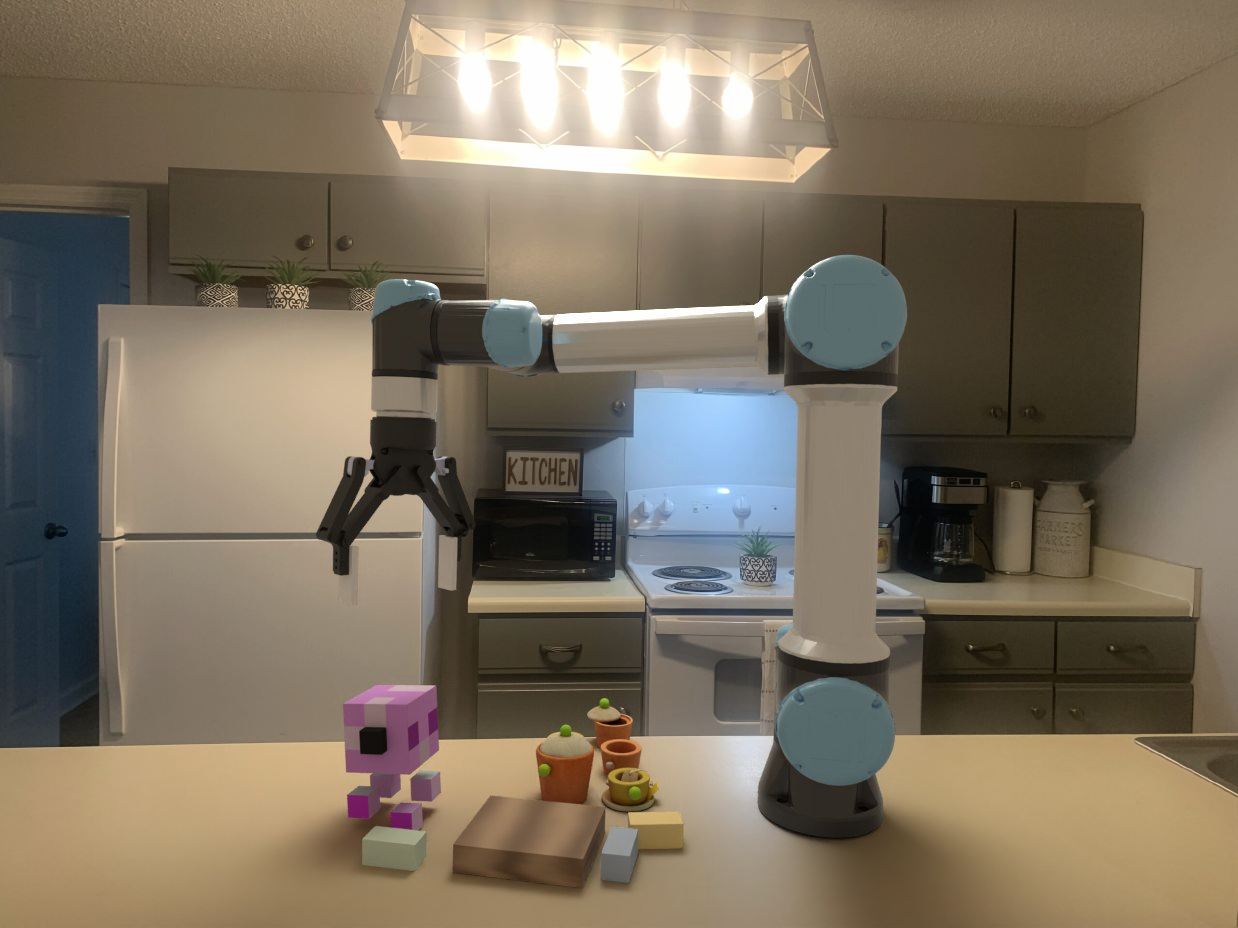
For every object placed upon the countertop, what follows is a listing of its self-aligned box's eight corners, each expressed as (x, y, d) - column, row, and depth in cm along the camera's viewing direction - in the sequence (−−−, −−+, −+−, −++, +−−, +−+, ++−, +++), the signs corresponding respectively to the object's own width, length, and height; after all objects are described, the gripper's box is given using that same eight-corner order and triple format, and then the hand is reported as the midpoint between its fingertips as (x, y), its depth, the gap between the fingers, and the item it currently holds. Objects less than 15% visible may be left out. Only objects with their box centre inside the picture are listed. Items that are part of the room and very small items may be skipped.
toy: (407, 841, 92) (401, 707, 92) (342, 838, 94) (336, 706, 94) (446, 802, 102) (440, 682, 102) (387, 799, 104) (382, 681, 104)
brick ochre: (678, 836, 95) (679, 811, 95) (682, 849, 92) (683, 823, 92) (627, 837, 95) (628, 812, 95) (629, 850, 92) (630, 824, 92)
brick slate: (611, 852, 91) (611, 826, 91) (637, 855, 91) (638, 828, 91) (600, 881, 86) (601, 852, 85) (629, 884, 85) (629, 855, 85)
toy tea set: (662, 818, 100) (664, 740, 100) (534, 822, 99) (535, 742, 98) (637, 739, 126) (638, 677, 126) (536, 740, 124) (537, 678, 124)
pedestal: (605, 832, 96) (605, 806, 96) (582, 887, 84) (583, 858, 84) (490, 819, 98) (490, 795, 98) (452, 872, 86) (452, 844, 86)
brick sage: (426, 858, 89) (426, 831, 89) (414, 872, 87) (415, 844, 86) (375, 852, 90) (375, 825, 90) (361, 866, 88) (362, 838, 87)
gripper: (468, 418, 108) (464, 579, 109) (285, 411, 89) (282, 604, 90) (506, 419, 103) (501, 587, 104) (321, 411, 84) (317, 616, 85)
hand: (400, 596), depth 97 cm, fingers open, 13 cm apart
